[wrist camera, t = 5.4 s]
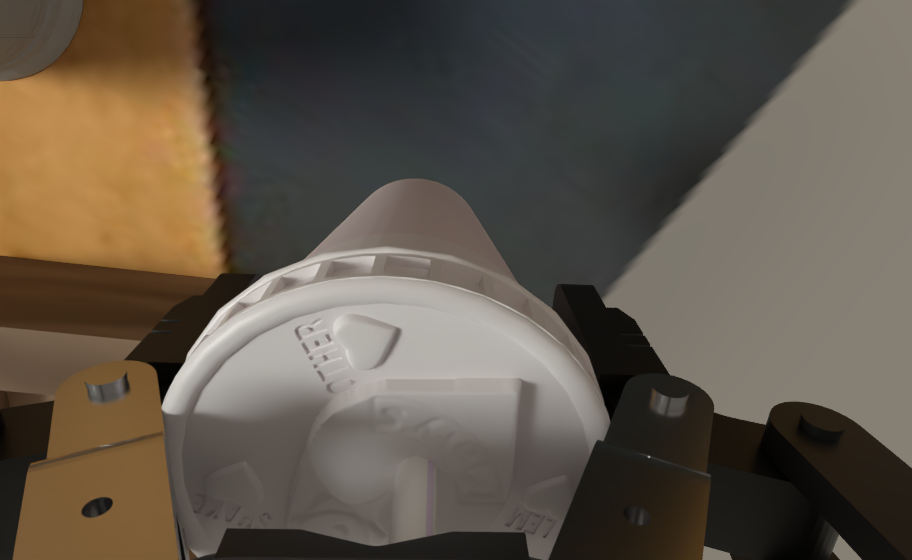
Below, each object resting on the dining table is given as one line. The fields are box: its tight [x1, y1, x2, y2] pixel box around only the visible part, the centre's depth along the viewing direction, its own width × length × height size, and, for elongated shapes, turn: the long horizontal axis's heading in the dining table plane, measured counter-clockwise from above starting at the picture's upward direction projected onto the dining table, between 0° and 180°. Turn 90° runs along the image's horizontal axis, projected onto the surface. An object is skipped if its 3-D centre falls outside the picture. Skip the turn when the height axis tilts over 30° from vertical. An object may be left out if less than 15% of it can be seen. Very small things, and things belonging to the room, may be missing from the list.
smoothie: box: [161, 179, 611, 560], centre depth 11 cm, size 6×6×14 cm
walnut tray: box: [0, 256, 216, 560], centre depth 28 cm, size 14×14×6 cm
